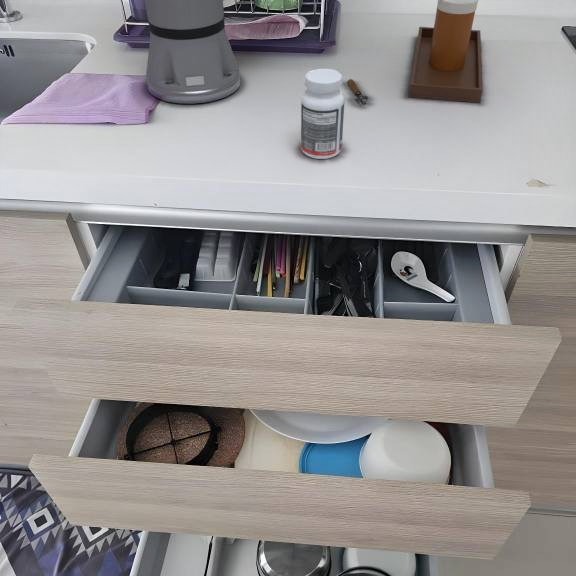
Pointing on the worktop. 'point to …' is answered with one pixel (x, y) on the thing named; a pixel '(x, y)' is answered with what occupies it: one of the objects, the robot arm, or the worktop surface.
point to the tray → (446, 72)
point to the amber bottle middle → (452, 34)
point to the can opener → (356, 92)
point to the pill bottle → (322, 114)
